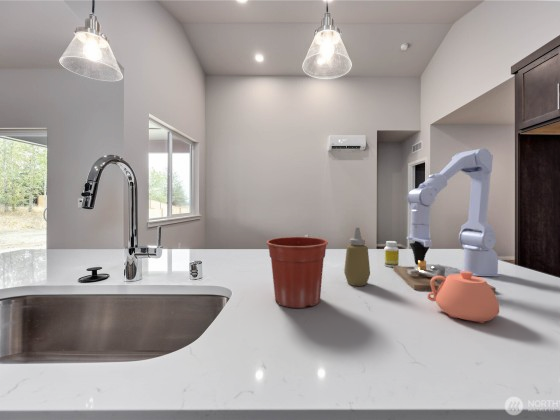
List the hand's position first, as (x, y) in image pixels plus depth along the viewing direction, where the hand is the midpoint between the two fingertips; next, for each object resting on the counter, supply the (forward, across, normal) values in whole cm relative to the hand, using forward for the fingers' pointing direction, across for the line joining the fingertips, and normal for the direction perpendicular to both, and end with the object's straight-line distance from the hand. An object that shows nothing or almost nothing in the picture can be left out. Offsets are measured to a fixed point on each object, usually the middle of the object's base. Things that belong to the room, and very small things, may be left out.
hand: (419, 264), depth 90 cm
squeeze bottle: (+5, +8, -21) cm, 23 cm away
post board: (+5, 0, +6) cm, 8 cm away
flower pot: (+5, +24, -39) cm, 46 cm away
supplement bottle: (+5, -18, -4) cm, 19 cm away
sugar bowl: (+5, +27, 0) cm, 28 cm away
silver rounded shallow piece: (+3, +1, +4) cm, 5 cm away
